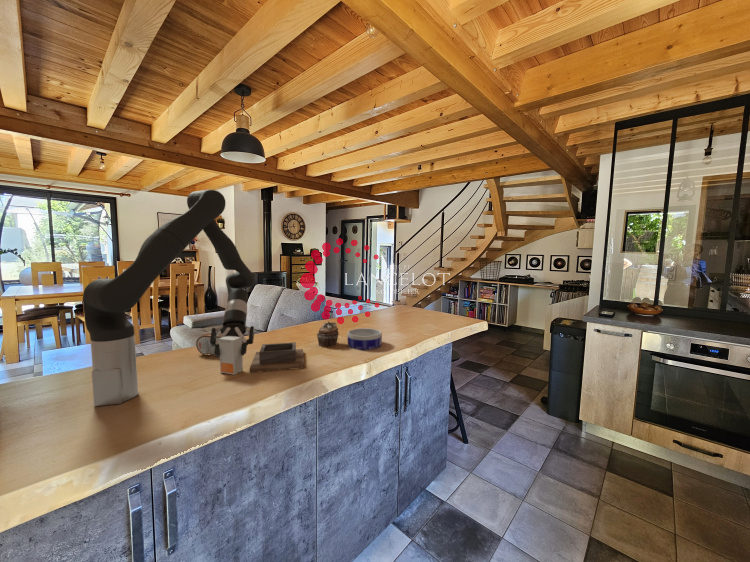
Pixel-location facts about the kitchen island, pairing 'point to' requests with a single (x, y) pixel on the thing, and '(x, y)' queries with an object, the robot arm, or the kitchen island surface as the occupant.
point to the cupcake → (328, 335)
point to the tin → (206, 344)
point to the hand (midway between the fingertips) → (230, 355)
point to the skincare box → (230, 354)
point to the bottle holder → (277, 357)
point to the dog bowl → (364, 338)
